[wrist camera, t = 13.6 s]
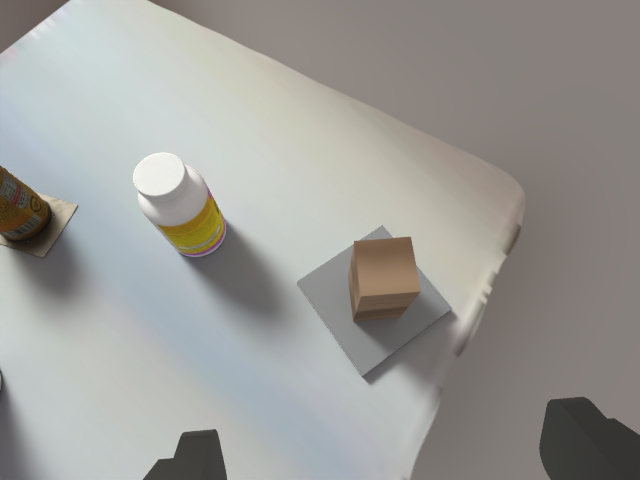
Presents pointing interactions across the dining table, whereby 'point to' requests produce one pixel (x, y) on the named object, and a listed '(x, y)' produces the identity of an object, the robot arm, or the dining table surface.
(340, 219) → the dining table surface
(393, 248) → the walnut block
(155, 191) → the supplement bottle
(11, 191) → the condiment
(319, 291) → the slate tile
